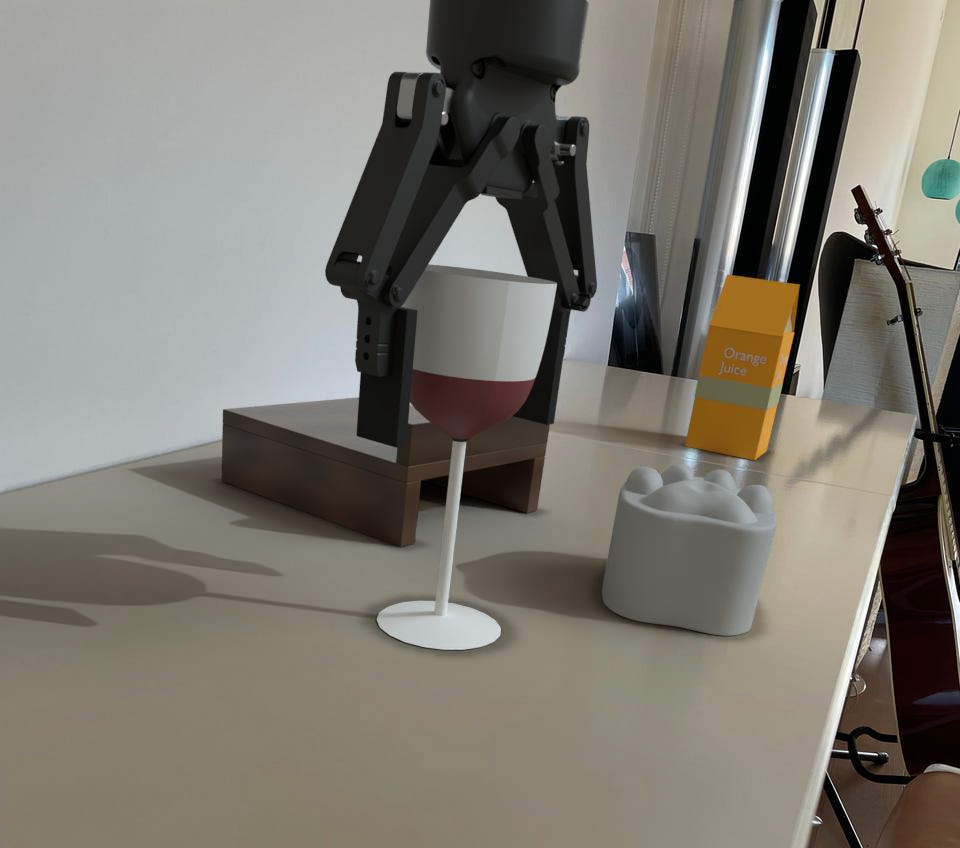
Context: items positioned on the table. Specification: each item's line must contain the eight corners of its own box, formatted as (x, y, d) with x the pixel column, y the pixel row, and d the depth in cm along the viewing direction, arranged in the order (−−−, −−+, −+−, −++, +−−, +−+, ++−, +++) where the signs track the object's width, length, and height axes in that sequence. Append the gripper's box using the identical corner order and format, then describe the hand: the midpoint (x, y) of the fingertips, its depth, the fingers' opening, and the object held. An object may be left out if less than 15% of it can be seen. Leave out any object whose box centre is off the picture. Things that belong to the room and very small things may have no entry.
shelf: (221, 481, 82) (223, 371, 79) (368, 457, 96) (375, 363, 93) (400, 547, 72) (412, 424, 69) (537, 510, 86) (552, 406, 82)
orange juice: (699, 437, 128) (733, 274, 120) (767, 451, 125) (806, 284, 117) (683, 446, 121) (718, 274, 114) (755, 460, 118) (795, 284, 110)
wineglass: (341, 613, 59) (366, 259, 51) (451, 591, 65) (487, 269, 57) (425, 663, 54) (466, 278, 46) (536, 634, 60) (589, 287, 52)
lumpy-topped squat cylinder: (596, 613, 64) (620, 484, 61) (608, 555, 76) (628, 444, 73) (757, 642, 63) (791, 511, 60) (744, 579, 75) (771, 467, 72)
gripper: (395, -113, 35) (357, 471, 43) (697, 38, 54) (630, 424, 62) (253, -98, 39) (243, 435, 47) (581, 38, 58) (533, 401, 66)
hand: (463, 430), depth 55 cm, fingers open, 13 cm apart
